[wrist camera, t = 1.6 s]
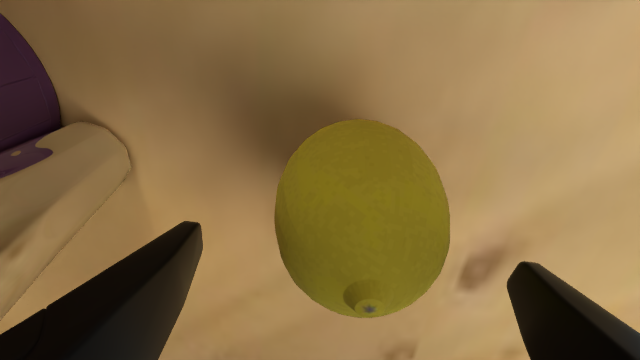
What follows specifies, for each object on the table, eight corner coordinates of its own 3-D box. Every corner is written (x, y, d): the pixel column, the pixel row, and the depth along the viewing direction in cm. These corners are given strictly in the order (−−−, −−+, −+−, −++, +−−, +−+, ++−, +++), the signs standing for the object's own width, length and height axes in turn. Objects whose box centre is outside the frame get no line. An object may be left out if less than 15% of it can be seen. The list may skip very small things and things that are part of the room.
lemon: (436, 114, 13) (557, 255, 6) (385, 215, 16) (425, 389, 9) (308, 74, 12) (276, 180, 5) (278, 187, 15) (232, 352, 8)
